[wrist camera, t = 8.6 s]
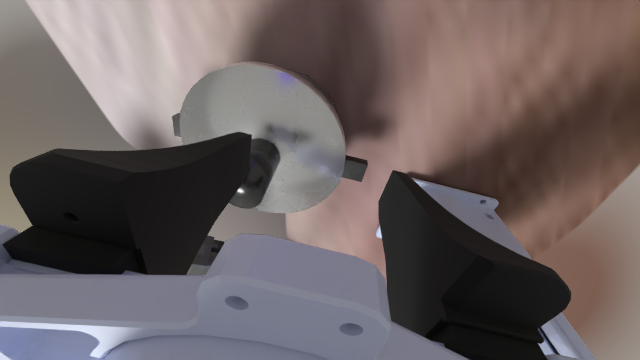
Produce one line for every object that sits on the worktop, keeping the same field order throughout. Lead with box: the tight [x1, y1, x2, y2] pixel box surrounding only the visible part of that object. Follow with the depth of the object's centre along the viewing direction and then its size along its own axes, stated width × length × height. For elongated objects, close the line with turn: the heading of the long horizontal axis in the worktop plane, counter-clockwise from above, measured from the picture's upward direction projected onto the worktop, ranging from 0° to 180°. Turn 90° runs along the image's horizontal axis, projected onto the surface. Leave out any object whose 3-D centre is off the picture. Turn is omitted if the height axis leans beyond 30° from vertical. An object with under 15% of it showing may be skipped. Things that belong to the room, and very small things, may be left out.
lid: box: [180, 61, 346, 213], centre depth 16 cm, size 12×12×6 cm
